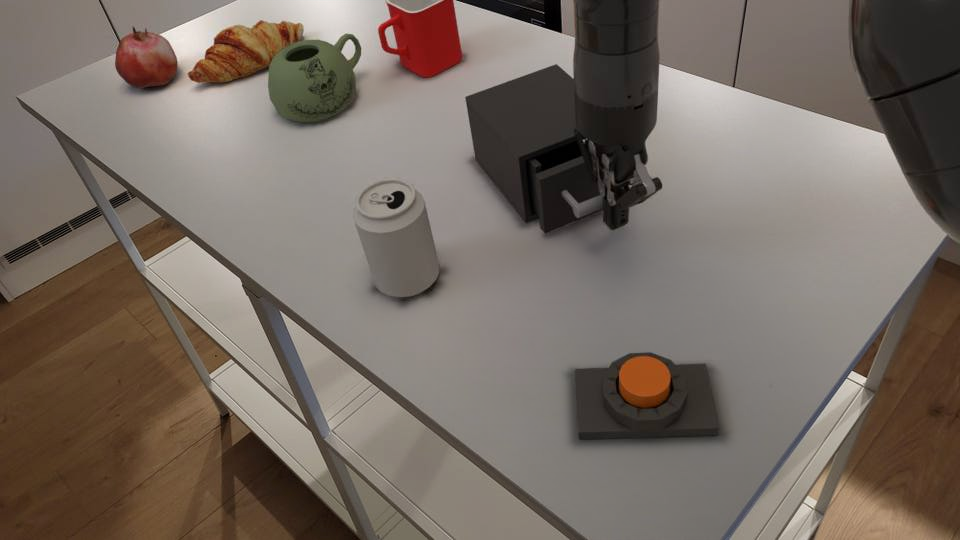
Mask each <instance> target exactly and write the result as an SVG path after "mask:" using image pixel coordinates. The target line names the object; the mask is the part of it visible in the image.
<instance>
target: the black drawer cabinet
mask: <svg viewBox="0 0 960 540" xmlns="http://www.w3.org/2000/svg"><path fill="white" fill-rule="evenodd" d="M464 98H465V104H466V110H467V117H468V123H469V129H470V135H471V140H472V147H473V153H474V159H475V162H476V163H477V164H478V166H479V167H480V168H481V169H482V170H483V172H484V174H486V175H487V177H488V178H489V179H490V180H491V182H492V183H493V184H494V185H495V187H496V188H497V189H498V191H499V192H500V193H501V195H503V196H504V198H505V199H506V200H507V201H508V203H509V204H510V205H511V206H512V208H513V209H514V210H515V212H516V213H517V214H518V215H519V217H520V218H521V219H522V220H523V221H524V223H525V224H528V223H531V222H533V221H535V220H537V219H538V220H539V216H538V214H537V213H536V212H535V211H534V209H533V208H532V207H531V206H530V200H529V190H528V181H527V172H526V162H525V161H526V160H528V159H531V158H533V157H536V156H539V155H541V154H544V153H546V152H549V151H552V150H554V149H557V148H559V147H562V146H565V145H567V144H570V143H572V142H575V141H577V140H576V137H575V134H574V129H575V128H577V127H576V119H575V96H574V77H573V76H571V75H570V74H569V73H567V71H566V70H564V69H563V68H562V67H560V65H559V64H557V63H555V64H552V65H550V66H547V67H544V68H541V69H539V70H536V71H533V72H531V73H527V74H525V75H522V76H520V77H517V78H514V79H511V80H508V81H506V82H502V83H500V84H496V85H495V86H491V87H489V88H486V89H483V90H480V91H478V92H477V91H476V92H475V93H472V94H469V95H466V96H465V97H464Z"/></svg>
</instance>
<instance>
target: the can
mask: <svg viewBox="0 0 960 540" xmlns="http://www.w3.org/2000/svg"><path fill="white" fill-rule="evenodd" d="M352 219H353V222H354V226H355V229H356V232H357V235H358V239H359V241H360V243H361V246H362V247H361V248H362V250H363V253H364V256H365V260H366V262H367V265H368V269H369V272H370V274H371V277H372V280H373V283H374V286H375V288H376V289H378V291H380V293H382V294H384V295H386V296H389V297H393V298H394V297H395V298H409V297H414V296H416V295H420V294H421V293H423V292H425V291H426V290H427V289H428V288H430V287H431V286H432V285H433V284H434V283H435V282H436V281H437V279H438V276H439V274H440V262H439V258H438V253H437V249H436V245H435V240H434V236H433V231H432V228H431V223H430V218H429V214H428V210H427V206H426V201H425V198H424V196H423V195H422V193H421V192H420V191H419V190H417V189H415V186H414V184H412V183H411V182H410V181H409V180H407V179H403V178H400V177H386V178H380V179H378V180H375V181H372V182H370V183H368V184H367V185H365V186H364V187H363V188H362V189H361V190H359V192H358V193H357V195H356V197H355V202H354V207H353V208H352Z"/></svg>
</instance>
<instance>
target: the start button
mask: <svg viewBox="0 0 960 540" xmlns="http://www.w3.org/2000/svg"><path fill="white" fill-rule="evenodd" d="M670 380H671V376H670V372H669V370H668V368H667V367H666V365H665V364H664V363H662V362H661V361H660V360H658V359H656V358H653V357H648V356H639V357H634V358H632V359H630V360H628V361H627V362H625V363H624V364H623V366H622V367H621V369H620V372H619V390H620V393H621V395H622V397H623V398H624V399H625V400H626V401H627V402H628V403H630V404H631V405H633V406H636V407H640V408H651V407H655V406H658V405H660V404H661V403H663V402H664V401H665V400H666V399H667V397H668V395H669V392H670Z"/></svg>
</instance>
